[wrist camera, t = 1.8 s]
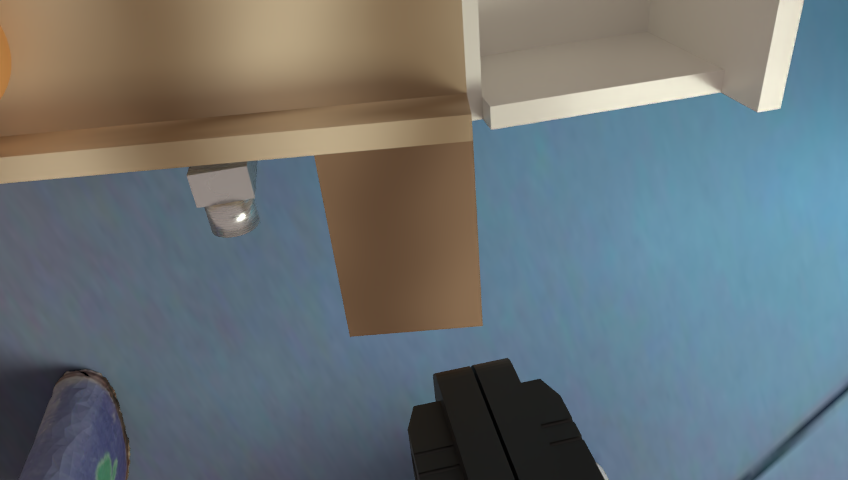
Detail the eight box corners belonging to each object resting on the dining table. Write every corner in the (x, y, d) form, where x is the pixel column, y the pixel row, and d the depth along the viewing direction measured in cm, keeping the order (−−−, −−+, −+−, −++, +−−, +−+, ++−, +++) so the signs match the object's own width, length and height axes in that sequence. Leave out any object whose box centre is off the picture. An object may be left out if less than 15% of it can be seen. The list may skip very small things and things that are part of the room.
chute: (444, -185, 16) (455, -191, 12) (470, 244, 23) (482, 325, 19) (-123, -125, 17) (-281, -113, 13) (69, 278, 23) (3, 364, 20)
